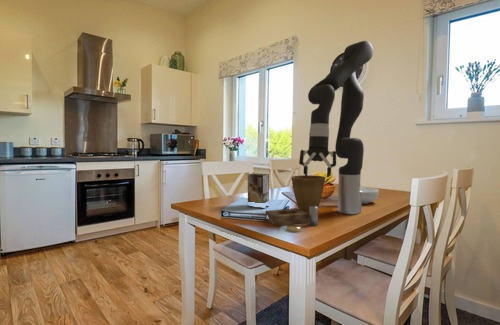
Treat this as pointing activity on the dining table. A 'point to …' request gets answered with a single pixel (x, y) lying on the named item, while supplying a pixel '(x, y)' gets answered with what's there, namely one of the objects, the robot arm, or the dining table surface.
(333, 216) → the dining table surface
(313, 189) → the plant pot
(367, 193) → the cereal bowl
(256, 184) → the coffee box
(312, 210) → the pin
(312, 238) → the dining table surface
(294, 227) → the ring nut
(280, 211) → the slot block
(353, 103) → the robot arm
